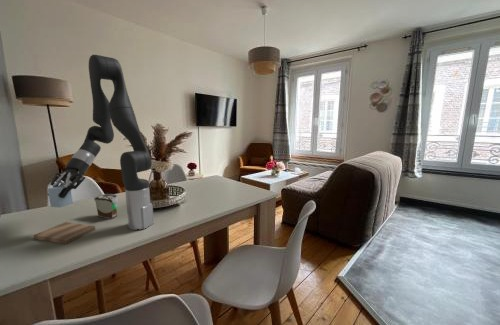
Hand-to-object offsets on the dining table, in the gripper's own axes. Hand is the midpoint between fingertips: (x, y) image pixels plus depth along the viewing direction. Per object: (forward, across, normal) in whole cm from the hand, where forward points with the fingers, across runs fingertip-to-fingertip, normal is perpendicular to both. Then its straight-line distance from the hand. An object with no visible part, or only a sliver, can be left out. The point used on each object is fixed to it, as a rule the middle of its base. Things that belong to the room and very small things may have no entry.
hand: (55, 196), depth 87 cm
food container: (-3, +4, +26) cm, 26 cm away
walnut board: (+11, +2, +11) cm, 16 cm away
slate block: (+2, 0, +4) cm, 5 cm away
